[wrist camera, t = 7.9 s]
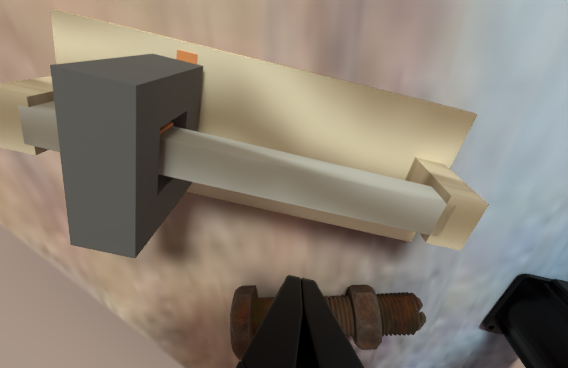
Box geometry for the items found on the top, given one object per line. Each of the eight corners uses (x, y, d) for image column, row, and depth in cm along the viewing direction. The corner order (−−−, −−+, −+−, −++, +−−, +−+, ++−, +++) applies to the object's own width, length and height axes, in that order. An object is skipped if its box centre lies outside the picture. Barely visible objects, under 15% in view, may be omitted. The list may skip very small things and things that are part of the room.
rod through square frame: (408, 237, 23) (441, 299, 18) (72, 162, 22) (-4, 203, 17) (472, 112, 19) (541, 143, 14) (58, 9, 18) (-52, -3, 12)
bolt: (403, 285, 28) (244, 292, 29) (418, 267, 24) (232, 276, 25) (420, 356, 25) (241, 362, 26) (441, 350, 21) (227, 357, 22)
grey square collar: (191, 183, 21) (135, 258, 14) (149, 174, 21) (70, 244, 14) (203, 65, 18) (136, 85, 11) (152, 53, 18) (50, 65, 10)
